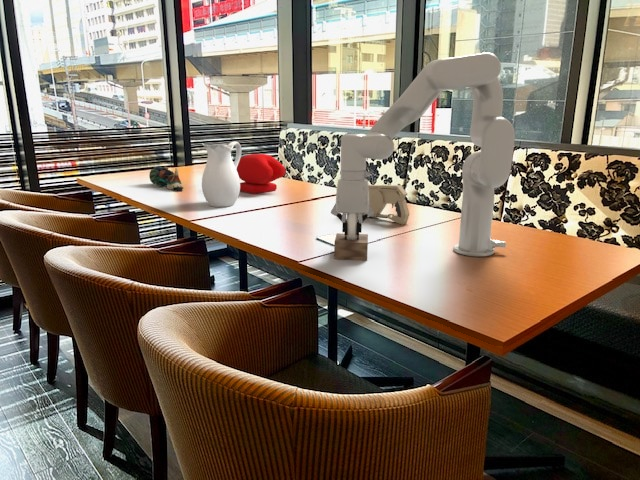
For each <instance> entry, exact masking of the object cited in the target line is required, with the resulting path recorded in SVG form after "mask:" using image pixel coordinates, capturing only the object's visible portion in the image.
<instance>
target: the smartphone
mask: <svg viewBox="0 0 640 480" xmlns="http://www.w3.org/2000/svg"><path fill="white" fill-rule="evenodd" d="M335 238H336V234H334V233H332V234H326V235H321V236H317V237H316V240H318V241H320V242H322V243H325V244H328V245H330V246H333V247H334V245H335Z"/></svg>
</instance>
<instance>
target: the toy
mask: <svg viewBox="0 0 640 480" xmlns="http://www.w3.org/2000/svg"><path fill="white" fill-rule="evenodd" d="M236 170H237V173H238V175H239V179H240V180H241V181H243V182H240V192H244V193H248V194H253V195H254V194H256V195H257V194H261V193H267V192H274V191H276V190H277V189H278V188H277V186H278V185H277V184H276V183H273V182H274V181H277V180H278V179H281V178H283V177H285V174H286V167H285V166H284V165H283V164H282V163H281V162H280V161H279V160H278V159H276V158H275V157H274V156H271V155H269V154H265V153H245V154H241V158H240V161H239V163H238V166H237V169H236Z"/></svg>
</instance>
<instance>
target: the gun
mask: <svg viewBox="0 0 640 480" xmlns="http://www.w3.org/2000/svg"><path fill="white" fill-rule="evenodd" d="M407 196H408V192H407V191H406V190H405V188H404V187H403V186H402V185H400V184H369V204H370V206H371V207H372V209H373V211H374V214H373V215H371V216H369V217H368V218H375V219H378V218H380V219H387V220H391V221H392V222H393V223H397V224H399V225H403V226H404V225H406V224H407V223H408V220H409V217H410V211H409V206H408V204H407V200H406V197H407ZM389 204H390V205H391V209H393V208H394V207H395V212H396V214H393V213H390V214H386V213H382V212H383V211H384V209H385V208H386V206H387V205H389ZM364 214H365V213H362V216H363V215H364Z"/></svg>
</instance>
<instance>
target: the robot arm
mask: <svg viewBox="0 0 640 480" xmlns="http://www.w3.org/2000/svg"><path fill="white" fill-rule="evenodd" d="M501 70H502V63H501V61H500V60H499V57H498V56H496V54H494V53H492V52H482V53H476V54H469V55H463V56H462V55H461V56H455V57H443V58H439V59H434V60H432V61H429V62H428V63H427V64H426V65H425V66H424V67H423V68H422V69H421V71H420V72H419V73H418V75H416V77H415V78H414V79H413V81H412V82H411V83H410V84H409V86H408V87H407V88H406V89H405V90H404V92H402V94H401V95H400V96H399V98H398V99H397V100H396V101H395V102H394V103H392V104H391V106H390V107H389V108H388V109H387V110H386V111H385V112H384V113H383V114H382V115H381V116H380V117H379V118H378V119H377V121H376V122H375V123H374V124H373V126H372V127H371V128H370V129H369V130H368V132H367V133H366V134H365V135H364V134H362V133H345V134H343V135H342V136H341V138H340V139H341V140H340V178H339V179H338V180H337V184H336V193H335V194H336V195H335V203H334V204H333V205H334V206H333V207H332V209H331V211H330V214H331V215H333V216H335V217H336V218H337V219H339V221H341V223H342V233H344V234H345V236H346V235H347V213H358V215H357V236H359V234H362V228H363V227H362V225H363V222H365V220H366V219H368V218H370V217H369V216H371V215H373V214H374V211H373V209H372V207H371V206H370V204H369V185H370V184H369V180H368V179H366V178H368V177H371V172H370V171H367V159H372V160H377V161H379V160H386V159H388V158H390V157H391V156H392V155H393V154H394V153H393V152H394V151H395V143H394V141H393V139H394V138H395V137H396V136H397V134H399V133H400V132H401V131H402V130H403V129H404V128H406V127H407V126H409V125H411V124H413V123H414V122H416V121H417V120H419V119H420V118H421V117H422V116H423V115H424V114H425V113H426V111H427V110H428V109H429V108H430V107H431V106H432V104H433V103H434V102H435V101H436V99H437V98H438V97H439V96H440V94H441V93H442V92H443V91H447V90H448V91H449V90H458V89H466V88H469V89H470V91H471V94H472V100H473V101H472V112H471V122H470V130H469V138H470V141H471V143H473V144H474V146H477V147H479V148H480V151H475V152H472V153H470V154H468V156H467V157H466V158H465V160H464V161H463V164H462V167H461V168H462V169H461V173H462V175H461V176H462V177H461V178H462V199H461V212H460V225H459V235H458V236H459V237H458V243H456V244H454V245H453V248H452V249H453V251H454V253H457V254H458V255H459V254H460V255H462V256H468V257H489V256H492V255H494V253H495V248H500V249H501V248H503V249H505V248H506V245H507V244H506V241H500V240H498V239H492V237H491V235H492V227H493V226H492V223H493V216H494V205H495V189H496V188H499V187H501V186H504V184H505V183H506V182H507V181H508V179H509V177H510V174H511V171H512V164H513V163H512V162H513V155H514V149H515V140H516V133H515V129H514V126H513V124H512V123H511V122H510V120H508V119H507V118H505V117H503V109H504V108H503V107H504V106H503V105H504V90H503V87H502V84H501V81H500V79H499V75H500V73H501ZM362 213H365V214H364V215H363V216H362Z"/></svg>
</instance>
